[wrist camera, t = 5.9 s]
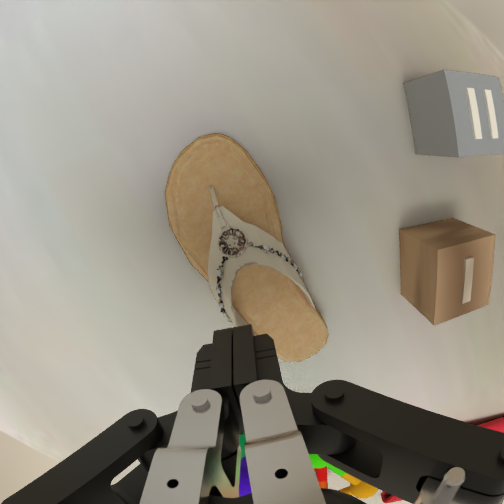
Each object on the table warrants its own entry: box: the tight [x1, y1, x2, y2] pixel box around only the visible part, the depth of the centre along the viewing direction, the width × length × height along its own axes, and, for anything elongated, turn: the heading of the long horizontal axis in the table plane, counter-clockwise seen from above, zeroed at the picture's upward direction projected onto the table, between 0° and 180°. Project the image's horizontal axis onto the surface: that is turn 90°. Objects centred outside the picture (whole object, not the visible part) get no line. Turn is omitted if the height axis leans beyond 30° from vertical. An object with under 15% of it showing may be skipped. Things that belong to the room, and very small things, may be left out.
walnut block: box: [399, 218, 495, 325], centre depth 19 cm, size 5×5×5 cm
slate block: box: [403, 70, 504, 157], centre depth 16 cm, size 5×5×5 cm
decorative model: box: [239, 433, 378, 499], centre depth 23 cm, size 13×9×15 cm
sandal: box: [165, 133, 328, 362], centre depth 18 cm, size 7×16×5 cm, turn 34°
